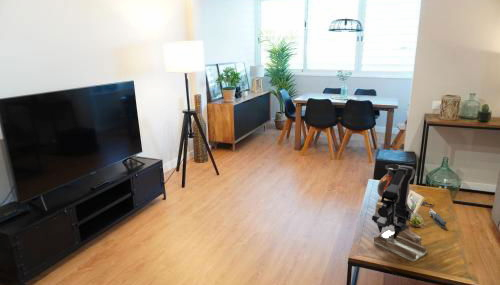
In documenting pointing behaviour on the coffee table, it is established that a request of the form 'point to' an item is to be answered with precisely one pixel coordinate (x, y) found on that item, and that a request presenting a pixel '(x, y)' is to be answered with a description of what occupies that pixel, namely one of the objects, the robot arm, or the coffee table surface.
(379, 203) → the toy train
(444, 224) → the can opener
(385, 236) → the white rectangular block
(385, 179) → the amphora vase
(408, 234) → the long tan block
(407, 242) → the jig
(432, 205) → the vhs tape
